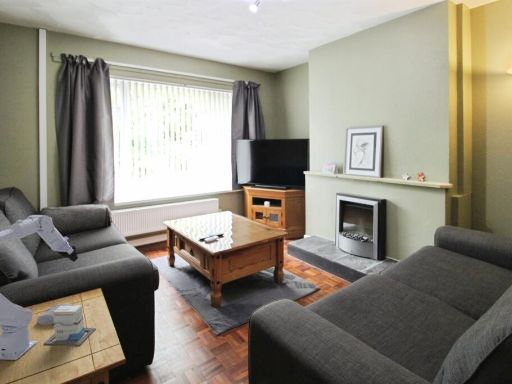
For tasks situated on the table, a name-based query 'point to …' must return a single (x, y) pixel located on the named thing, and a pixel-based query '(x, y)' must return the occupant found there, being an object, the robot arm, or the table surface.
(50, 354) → the table surface
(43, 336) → the table surface
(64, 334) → the ink box
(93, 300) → the table surface
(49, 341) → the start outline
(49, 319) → the stone block
